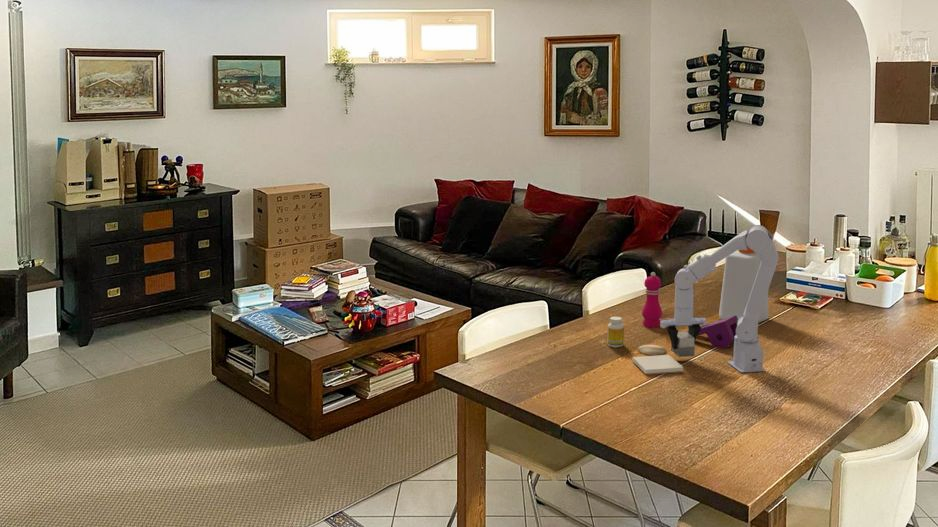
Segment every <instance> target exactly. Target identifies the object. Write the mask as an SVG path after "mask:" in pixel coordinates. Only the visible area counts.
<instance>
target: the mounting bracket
mask: <svg viewBox="0 0 938 527" xmlns="http://www.w3.org/2000/svg"><path fill="white" fill-rule="evenodd" d="M737 321H738V318H737V315H735V316H732V317H728V318H725V319H719V320H716V321H713V322H708V323H706V325H700V327H701V331H700V332H699V334H698V336H702V335H706V336H707V339H708V340H709V342H710V344H711V345H712V346H713V347H715V348H718V347H719V349H726V348H728V347H729V346H730V345H732V344H734V336H735V335H736V328H737ZM685 332H688V333H689V329H688V330H686V331H685ZM698 336H697V337H698Z"/></svg>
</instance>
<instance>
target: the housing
mask: <svg viewBox="0 0 938 527" xmlns="http://www.w3.org/2000/svg"><path fill="white" fill-rule="evenodd" d="M695 348H696V347H695V343H694V337H693V336H692V335H690V334H689V333H688V332H686V331H678V335H677V348H676V349H673V348H672V344H671V343H670V351H671V352H673V353H674V354H675V355H676V356H677V357H678V358H684V357H694V356H695Z"/></svg>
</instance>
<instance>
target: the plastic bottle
mask: <svg viewBox="0 0 938 527" xmlns="http://www.w3.org/2000/svg"><path fill="white" fill-rule="evenodd" d="M760 264H761V259H760V258H759V256H758V255H757V253H756V252H754V251H753V250H752V249H750V248H749V247H748V249H747V250H737V251H735V252H734V253H732V254H730V255H729V256H727V257H726V258H725V261H724V268H723V278H722V285H721V286H722V288H721V293H720V303H719V311H718V315H719V318H720V320H722V319H725V318H728V317H732V316H735V315H737V318H738V319H739V318H740V317H741V316H742V315H743V313H744V310H745V308H746V306H747V303H748V300H749V297H750V294H751V291H752V288H753V285H754V282H755V279H756V276H757V273H758V270H759V267H760ZM769 308H770V307H769V291H768V292H767V295H766V298H765V301H764V304H763V307H762V310H761V313H760V316H759V320H758V324H760V323H762V322H764V321H767V320H768V319H769V317H770V315H769V314H770V313H769V311H770V310H769Z"/></svg>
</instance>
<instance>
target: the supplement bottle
mask: <svg viewBox="0 0 938 527" xmlns="http://www.w3.org/2000/svg"><path fill="white" fill-rule="evenodd" d="M609 322H610V323H608V325H607V340H606V341H607V342H606V343H607V344H606V345H608V347H611V348H621V347H623V345H624V333H625V332H624V330H625V329H624V328H625V327H624V326H625V325H624V324H623V323H622V322H623V318H622V317H621V316H611V317H610V318H609Z"/></svg>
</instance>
